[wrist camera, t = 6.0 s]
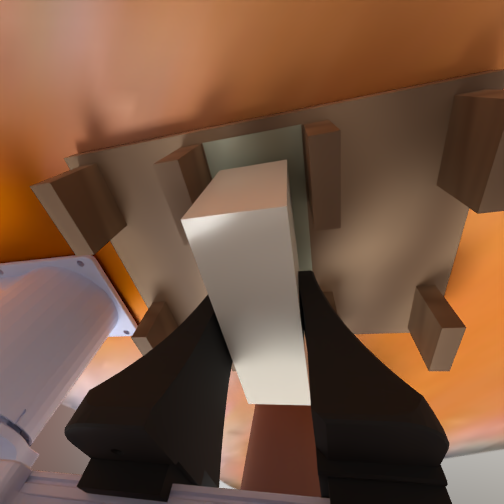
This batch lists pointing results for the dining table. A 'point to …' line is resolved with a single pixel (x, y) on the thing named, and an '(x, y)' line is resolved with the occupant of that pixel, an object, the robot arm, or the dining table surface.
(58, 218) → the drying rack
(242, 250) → the cream rectangular block
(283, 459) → the coffee cup
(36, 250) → the dining table surface
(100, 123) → the dining table surface
